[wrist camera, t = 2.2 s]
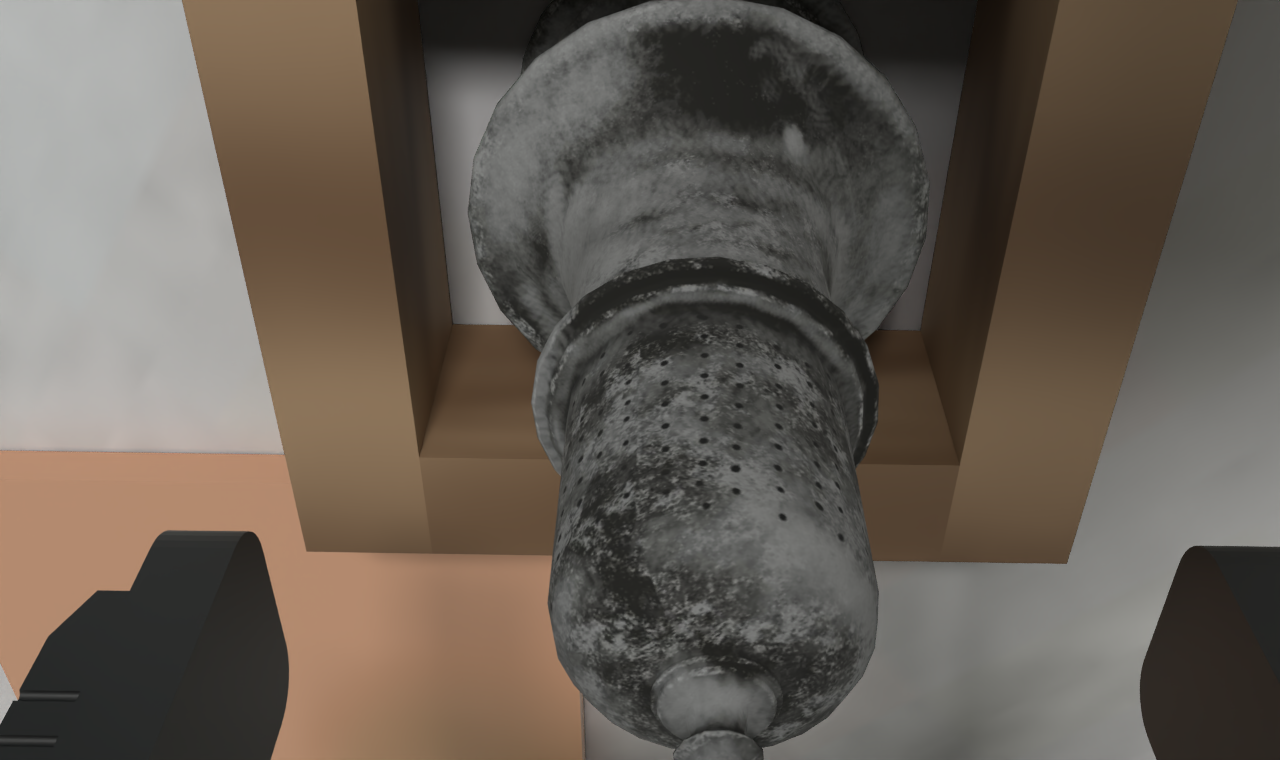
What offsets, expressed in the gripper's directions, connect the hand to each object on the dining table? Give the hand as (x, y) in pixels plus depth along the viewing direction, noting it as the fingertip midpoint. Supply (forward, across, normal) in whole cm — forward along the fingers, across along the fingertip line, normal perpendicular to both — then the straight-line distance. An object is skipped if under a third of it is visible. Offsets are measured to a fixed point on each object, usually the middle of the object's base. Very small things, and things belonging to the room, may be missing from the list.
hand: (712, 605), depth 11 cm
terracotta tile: (+10, +8, +12) cm, 18 cm away
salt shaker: (+10, 0, 0) cm, 10 cm away
